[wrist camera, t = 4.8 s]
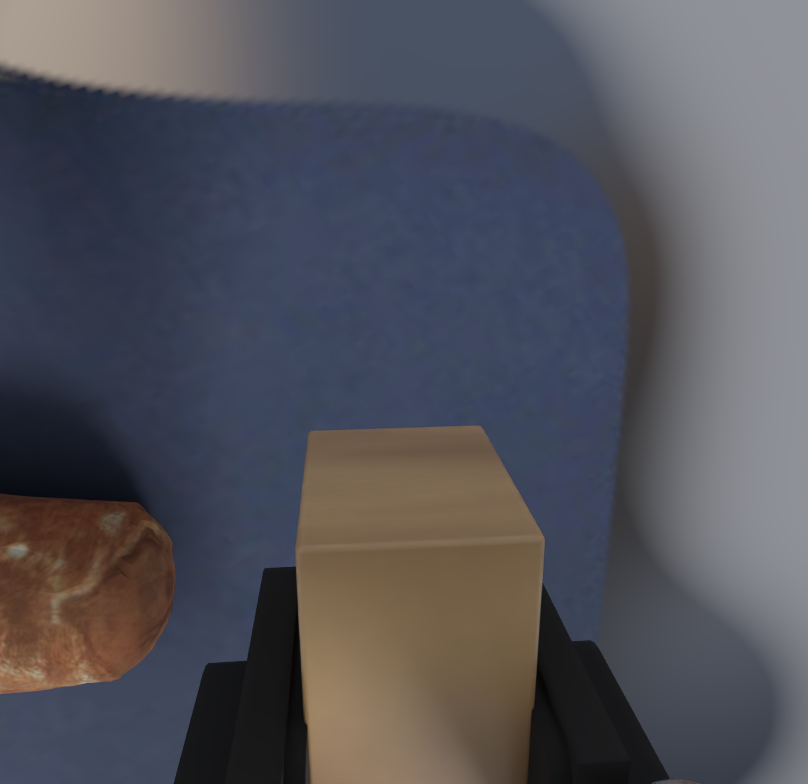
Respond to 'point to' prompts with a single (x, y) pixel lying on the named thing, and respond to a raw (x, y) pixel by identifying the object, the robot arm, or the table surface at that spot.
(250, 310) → the table surface
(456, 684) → the knife
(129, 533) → the bread
